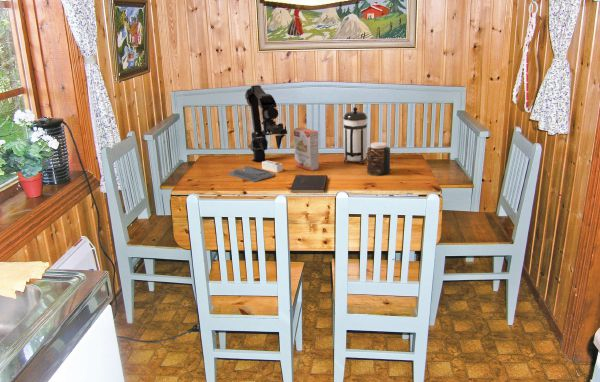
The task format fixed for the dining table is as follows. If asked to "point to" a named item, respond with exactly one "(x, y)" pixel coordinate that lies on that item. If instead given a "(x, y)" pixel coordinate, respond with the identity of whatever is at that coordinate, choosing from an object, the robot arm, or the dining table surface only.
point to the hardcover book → (309, 184)
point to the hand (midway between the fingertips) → (271, 149)
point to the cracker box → (306, 148)
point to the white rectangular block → (272, 166)
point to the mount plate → (251, 174)
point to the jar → (378, 159)
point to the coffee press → (355, 136)
